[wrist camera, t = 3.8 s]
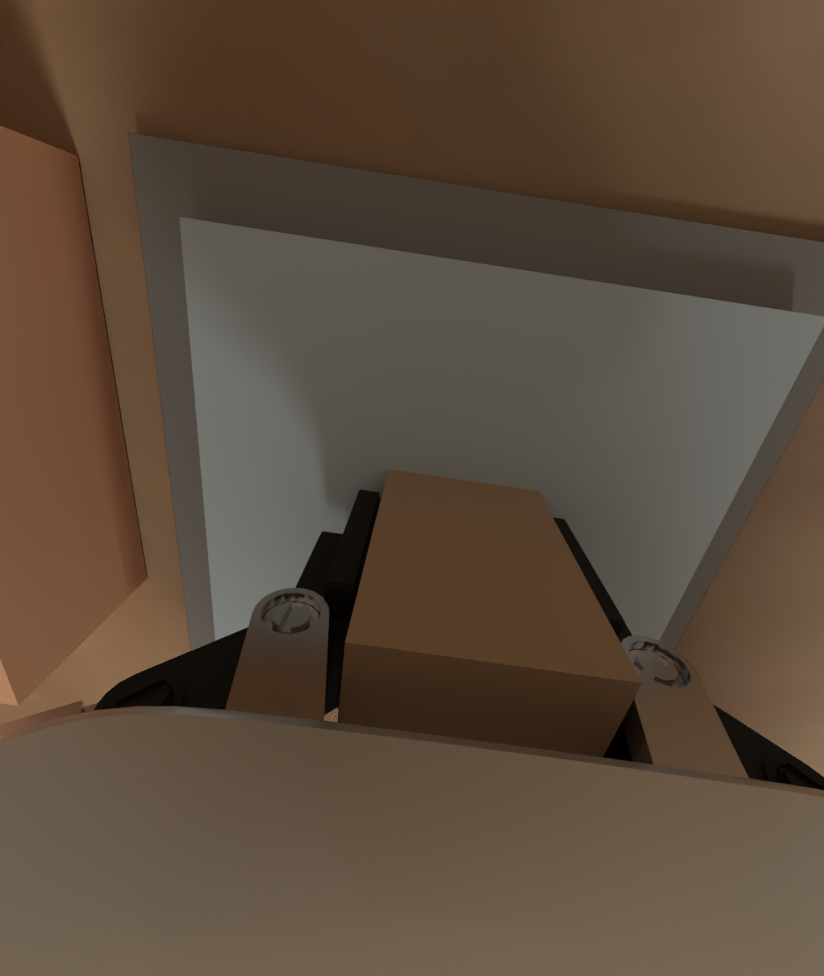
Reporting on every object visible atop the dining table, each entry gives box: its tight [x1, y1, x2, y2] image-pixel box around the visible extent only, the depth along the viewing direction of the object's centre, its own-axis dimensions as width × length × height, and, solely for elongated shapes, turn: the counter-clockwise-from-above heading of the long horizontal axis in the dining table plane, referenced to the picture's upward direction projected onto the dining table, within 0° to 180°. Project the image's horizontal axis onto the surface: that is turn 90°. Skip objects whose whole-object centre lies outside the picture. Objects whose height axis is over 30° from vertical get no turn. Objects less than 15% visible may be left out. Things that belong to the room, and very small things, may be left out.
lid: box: [179, 217, 824, 757], centre depth 10 cm, size 14×14×7 cm
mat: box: [129, 133, 824, 651], centre depth 13 cm, size 17×17×1 cm
